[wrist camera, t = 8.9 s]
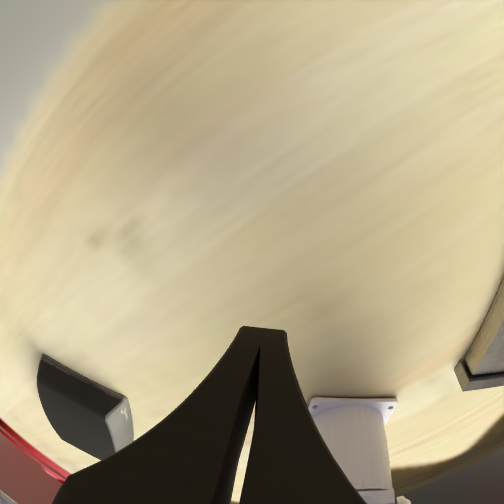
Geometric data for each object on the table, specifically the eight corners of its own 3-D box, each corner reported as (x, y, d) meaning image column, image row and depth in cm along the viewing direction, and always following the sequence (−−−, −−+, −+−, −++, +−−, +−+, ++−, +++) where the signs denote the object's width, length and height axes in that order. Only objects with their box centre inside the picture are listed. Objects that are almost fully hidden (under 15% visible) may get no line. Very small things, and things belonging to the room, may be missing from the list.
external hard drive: (136, 396, 29) (121, 425, 25) (135, 455, 37) (126, 475, 34) (40, 347, 28) (22, 369, 25) (64, 420, 37) (53, 438, 33)
